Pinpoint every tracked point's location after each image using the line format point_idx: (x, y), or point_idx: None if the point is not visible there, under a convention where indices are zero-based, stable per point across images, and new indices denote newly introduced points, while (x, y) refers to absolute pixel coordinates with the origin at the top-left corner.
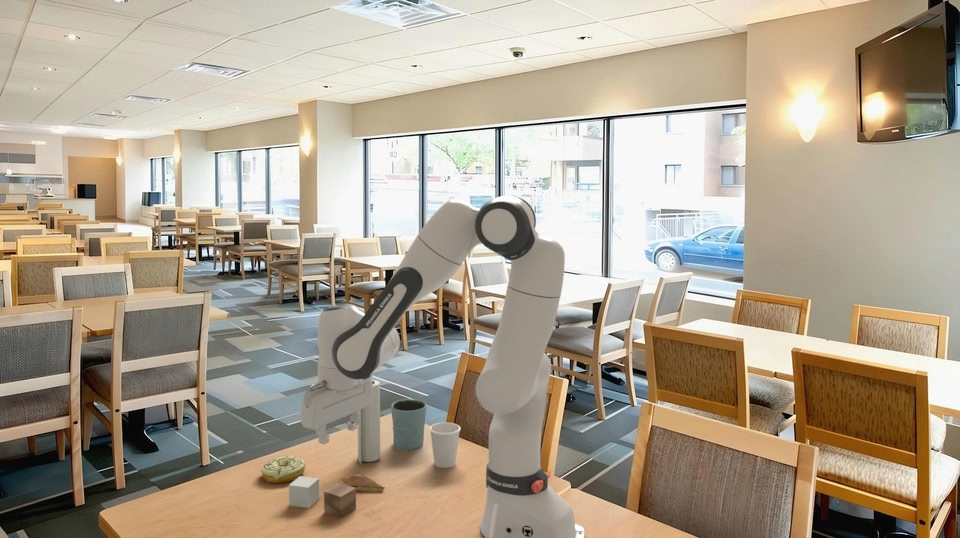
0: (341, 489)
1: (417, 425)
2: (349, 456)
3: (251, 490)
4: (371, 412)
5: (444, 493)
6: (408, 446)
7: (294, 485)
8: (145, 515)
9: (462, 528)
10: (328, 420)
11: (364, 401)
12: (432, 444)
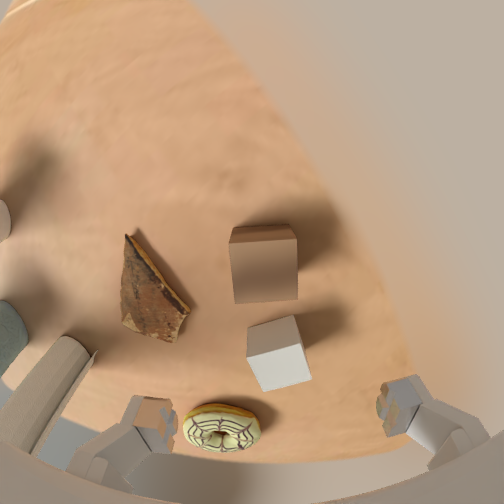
0: (260, 270)
1: None
2: (97, 382)
3: (293, 419)
4: (24, 410)
5: (67, 117)
6: (13, 315)
7: (307, 370)
8: None
9: None
10: (489, 463)
11: (22, 495)
12: None
